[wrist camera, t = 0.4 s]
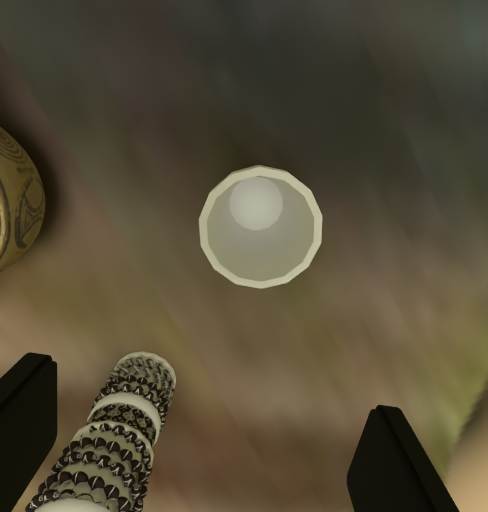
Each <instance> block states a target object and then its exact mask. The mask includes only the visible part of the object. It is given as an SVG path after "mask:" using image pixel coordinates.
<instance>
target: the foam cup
mask: <svg viewBox="0 0 488 512" xmlns="http://www.w3.org/2000/svg"><path fill="white" fill-rule="evenodd" d="M199 229H200V242H201V247H202V249H203V251H204V253H205V254H206V256H207V258H208V259H209V261H210V263H211V265H212V266H213V268H214V269H215V270H216V271H218V272H219V273H221V274H222V275H223V276H225V277H226V278H228V279H229V280H231V281H232V282H234V283H235V284H239V285H244V286H249V287H255V288H260V289H262V288H267V287H271V286H275V285H279V284H284V283H287V282H289V281H290V280H291V279H293V278H294V277H295V276H297V275H298V274H299V273H301V272H302V271H303V270H305V269H306V268H307V267H309V265H310V263H311V261H312V259H313V257H314V255H315V254H316V252H317V250H318V248H319V246H320V244H321V236H322V214H321V212H320V209H319V207H318V205H317V203H316V201H315V198H314V196H313V194H312V192H311V190H310V189H308V188H307V187H306V186H305V185H303V184H302V183H301V182H300V181H298V180H297V179H296V178H295V177H293V176H292V175H291V174H290V173H288V172H287V171H285V170H281V169H276V168H271V167H266V166H262V165H256V166H252V167H249V168H245V169H241V170H237V171H234V172H232V173H231V174H229V175H228V176H227V177H226V178H225V179H224V180H223V181H221V182H220V183H219V184H218V185H217V186H216V187H215V188H213V189H212V191H211V192H210V193H209V196H208V198H207V200H206V203H205V205H204V208H203V210H202V213H201V215H200V218H199Z"/></svg>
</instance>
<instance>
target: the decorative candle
mask: <svg viewBox="0 0 488 512" xmlns="http://www.w3.org/2000/svg"><path fill="white" fill-rule="evenodd" d="M111 375H112V376H113V378H112V377H109V378H108V379H106V385H104V387H103V388H102V389H101V390H100V395H99V396H98V397H97V398H96V399H95V400H94V405H93V406H92V412H91V413H90V415H89V417H88V419H87V424H86V426H85V427H83V428H81V429H79V430H78V432H77V433H76V435H75V436H74V438H73V439H72V441H71V442H70V443H69V445H68V447H66V448H64V450H63V451H62V457H60V458H59V459H58V461H57V463H56V464H55V465H54V466H53V467H52V469H51V472H52V475H51V476H49V477H47V478H46V479H45V481H44V483H42V484H40V486H39V487H38V495H35V496H34V497H33V498H32V500H31V503H29V504H28V505H27V506H26V508H25V512H141V511H142V509H143V498H144V497H145V496H146V494H147V487H146V485H147V484H148V481H149V479H148V476H149V475H150V474H151V471H152V462H153V456H154V453H153V450H152V448H153V445H154V444H155V443H156V441H157V438H158V435H159V434H160V433H161V431H162V426H164V424H165V417H164V416H166V415H167V414H168V408H169V406H170V404H171V402H172V396H173V394H174V389H175V384H176V376H175V372H174V369H173V367H172V366H171V365H170V364H169V363H168V361H167V360H166V359H164V358H162V357H161V356H159V355H157V354H155V353H150V352H145V351H140V352H133V353H129V354H128V355H126V356H124V357H123V358H121V359H120V360H119V362H118V363H117V365H116V366H115V368H114V370H113V371H111ZM68 454H69V455H68ZM61 469H62V470H61ZM60 470H61V471H60ZM51 487H52V488H51ZM50 488H51V489H50ZM46 489H48V490H47V491H45V490H46ZM49 489H50V490H49ZM36 508H37V509H36ZM35 509H36V510H35Z"/></svg>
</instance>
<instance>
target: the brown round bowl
mask: <svg viewBox="0 0 488 512" xmlns="http://www.w3.org/2000/svg"><path fill="white" fill-rule="evenodd" d="M44 213H45V194H44V188H43V184H42V181H41V179H40V176H39V173H38V170H37V169H36V167H35V165H34V163H33V162H32V160H31V159H30V157H29V156H28V154H27V153H26V152H25V150H24V149H23V148H22V147H21V146H20V145H19V144H18V142H17V141H16V140H15V139H13V138H12V137H11V136H10V135H9V134H8V133H7V132H6V131H5V130H4V129H2V128H1V127H0V271H2V270H4V269H6V268H7V267H9V266H10V265H12V264H13V263H15V262H16V261H17V260H18V259H19V258H20V257H21V256H22V255H23V254H25V252H26V251H27V250H28V249H29V248H30V247H31V245H32V244H33V242H34V240H35V239H36V237H37V235H38V234H39V231H40V228H41V225H42V222H43V219H44Z"/></svg>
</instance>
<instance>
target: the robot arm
mask: <svg viewBox="0 0 488 512" xmlns="http://www.w3.org/2000/svg"><path fill="white" fill-rule="evenodd" d="M56 437H57V363H56V362H55V361H52V358H51V356H49V355H44V354H37V353H31V352H30V353H27V354H26V355H24V356H23V357H22V358H21V359H20V360H19V361H18V362H17V363H16V364H15V365H14V366H13V367H12V368H11V369H10V370H9V371H8V372H7V373H6V374H4V375H3V376H2V377H1V378H0V512H11V511H12V510H13V508H14V507H15V505H16V503H17V502H18V500H19V499H20V497H21V496H22V494H23V493H24V491H25V489H26V488H27V486H28V485H29V483H30V482H31V480H32V478H33V477H34V475H35V474H36V472H37V471H38V469H39V467H40V466H41V464H42V463H43V461H44V460H45V458H46V456H47V455H48V453H49V452H50V450H51V449H52V447H53V445H54V443H55V440H56ZM347 487H348V491H349V494H350V497H351V501H352V504H353V508H354V511H355V512H459V510H458V508H457V507H456V505H455V503H454V501H453V499H452V498H451V496H450V494H449V492H448V491H447V489H446V487H445V485H444V484H443V482H442V480H441V479H440V477H439V475H438V473H437V472H436V470H435V468H434V466H433V465H432V463H431V461H430V459H429V458H428V456H427V454H426V452H425V451H424V449H423V447H422V445H421V444H420V442H419V440H418V438H417V437H416V435H415V433H414V432H413V430H412V428H411V426H410V425H409V423H408V421H407V419H406V418H405V416H404V414H403V412H402V411H401V410H400V409H399V408H397V407H391V406H384V405H378V406H377V407H376V409H372V410H371V411H370V413H369V416H368V419H367V422H366V424H365V427H364V430H363V432H362V435H361V438H360V441H359V443H358V446H357V449H356V452H355V454H354V457H353V460H352V463H351V465H350V468H349V471H348V474H347Z"/></svg>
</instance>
